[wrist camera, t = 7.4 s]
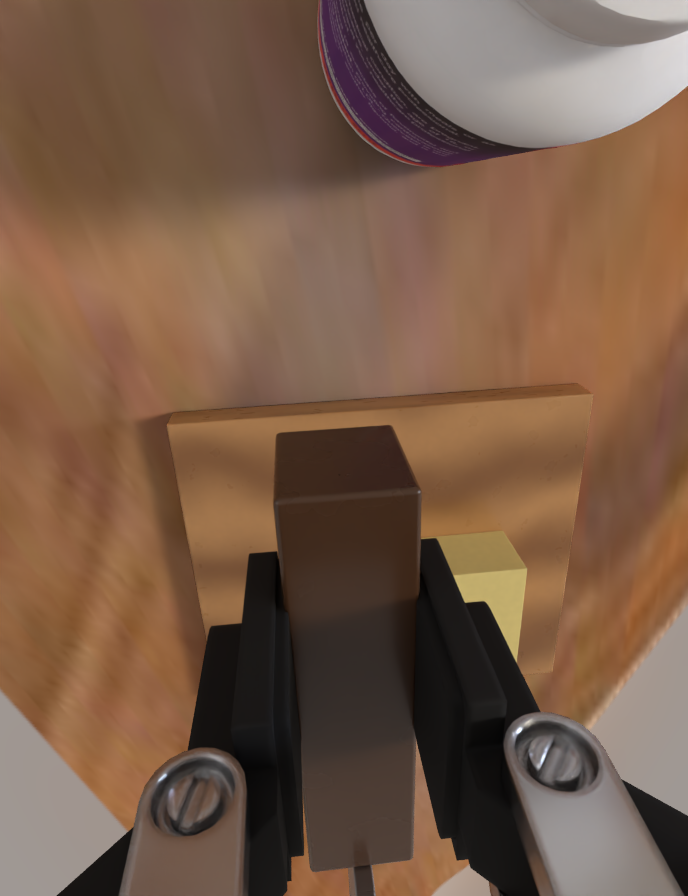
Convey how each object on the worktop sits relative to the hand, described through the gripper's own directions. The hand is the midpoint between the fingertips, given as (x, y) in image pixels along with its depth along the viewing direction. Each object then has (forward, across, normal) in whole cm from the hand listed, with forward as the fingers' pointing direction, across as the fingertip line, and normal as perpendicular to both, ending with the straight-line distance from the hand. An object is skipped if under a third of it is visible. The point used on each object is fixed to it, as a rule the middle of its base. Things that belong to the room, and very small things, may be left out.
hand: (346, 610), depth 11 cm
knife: (+1, 0, +6) cm, 6 cm away
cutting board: (+15, -3, +9) cm, 17 cm away
